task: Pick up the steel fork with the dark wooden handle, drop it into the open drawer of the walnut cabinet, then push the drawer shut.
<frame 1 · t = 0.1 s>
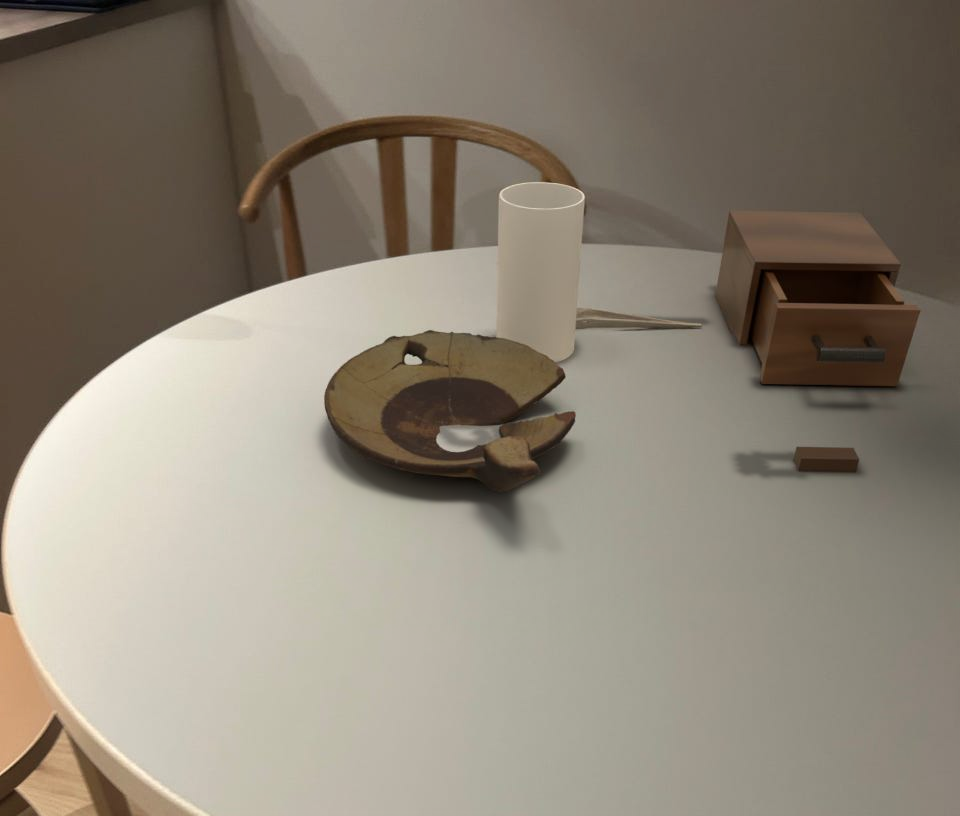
cup: (534, 355, 105), on the table
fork: (799, 472, 87), on the table
cabinet: (791, 322, 111), on the table
tweezers: (623, 329, 110), on the table
broken ceramic dish: (449, 455, 89), on the table
drawer: (826, 325, 99), point 5 cm above the table, slide at 8.0 cm
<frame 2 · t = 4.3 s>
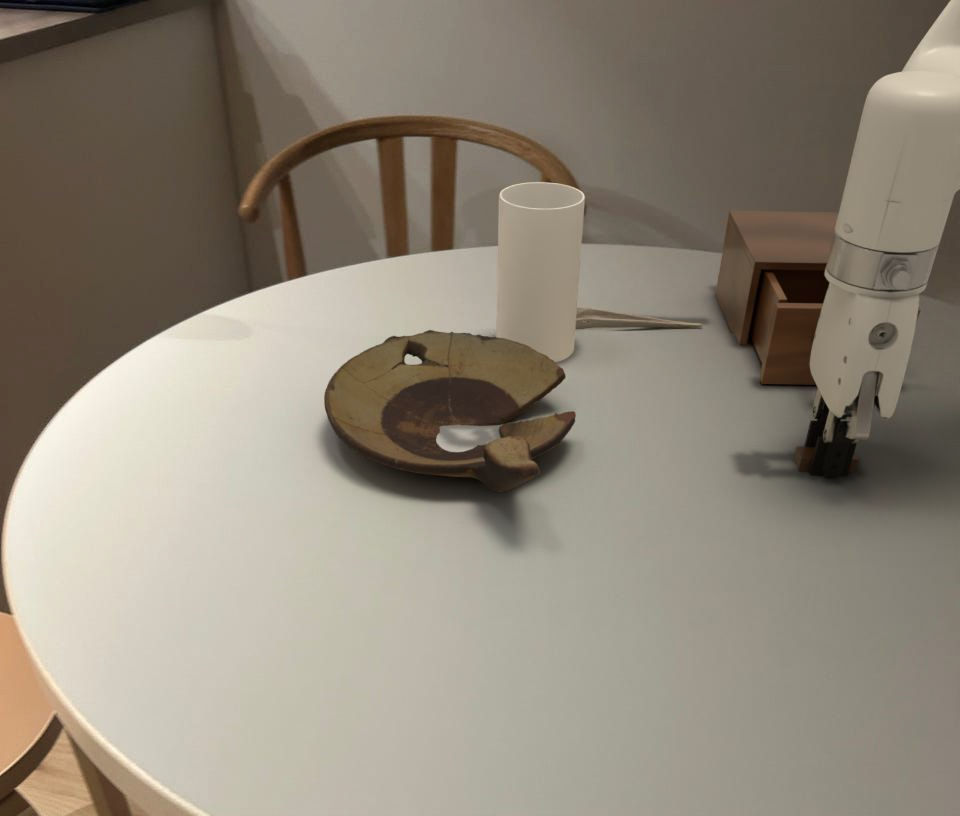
hand: (823, 469, 87), 0 cm above the table, tool pointing down, fingers closed on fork, 2 cm apart
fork: (799, 472, 87), on the table, touching gripper
everything else where it was.
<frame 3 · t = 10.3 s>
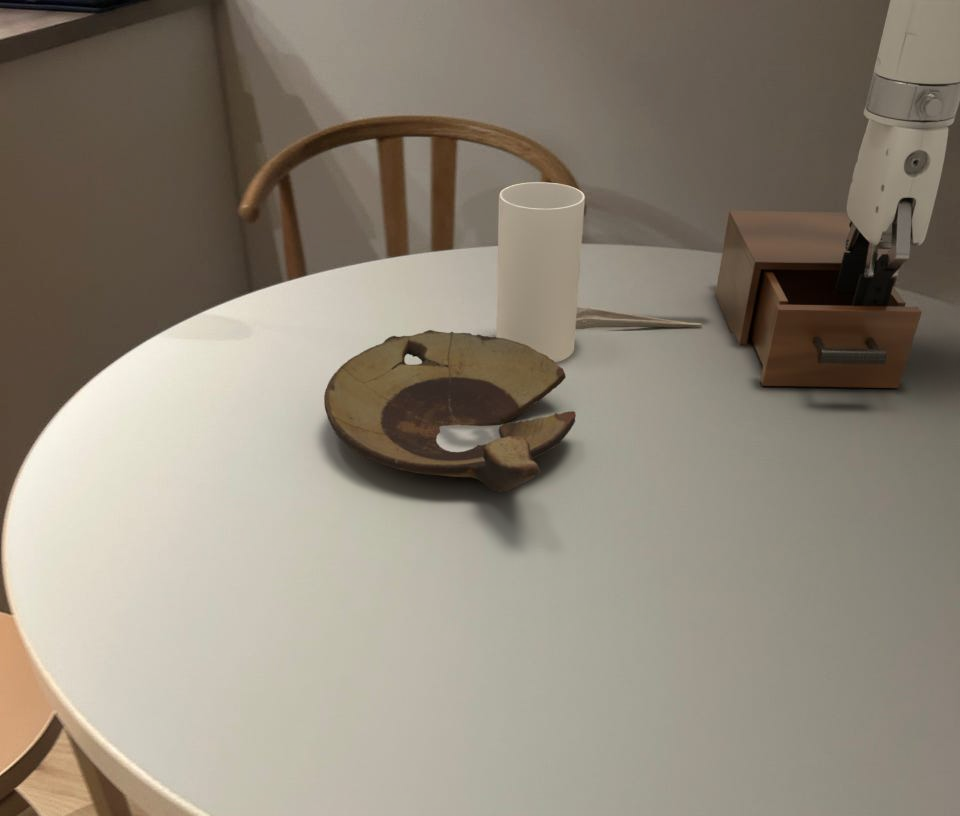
hand: (859, 302, 97), 7 cm above the table, tool pointing down, fingers open, 4 cm apart
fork: (826, 353, 101), point 2 cm above the table, touching drawer
drawer: (827, 327, 99), point 5 cm above the table, slide at 8.4 cm, touching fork, gripper
everything else where it was.
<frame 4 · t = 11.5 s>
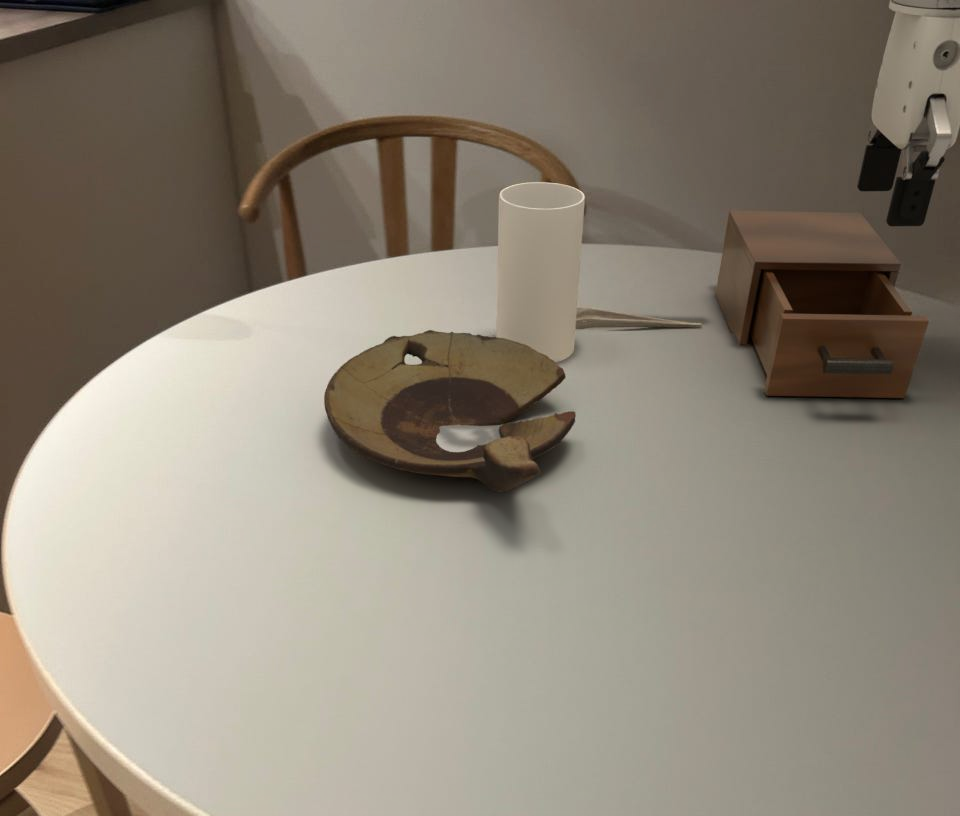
hand: (888, 207, 92), 16 cm above the table, tool pointing down, fingers open, 9 cm apart
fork: (831, 363, 99), point 2 cm above the table, touching drawer
drawer: (832, 336, 97), point 5 cm above the table, slide at 10.5 cm, touching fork
everything else where it was.
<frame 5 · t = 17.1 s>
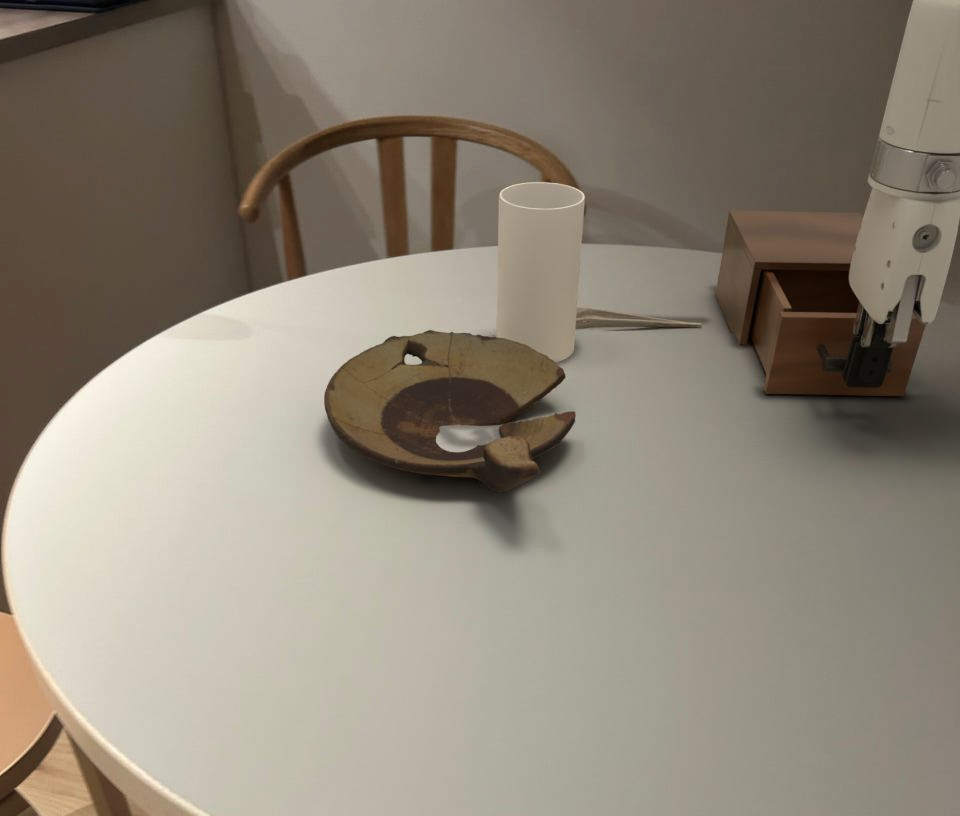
hand: (861, 382, 89), 5 cm above the table, tool pointing down, fingers closed
drawer: (831, 334, 98), point 5 cm above the table, slide at 10.1 cm, touching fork, gripper
everything else where it was.
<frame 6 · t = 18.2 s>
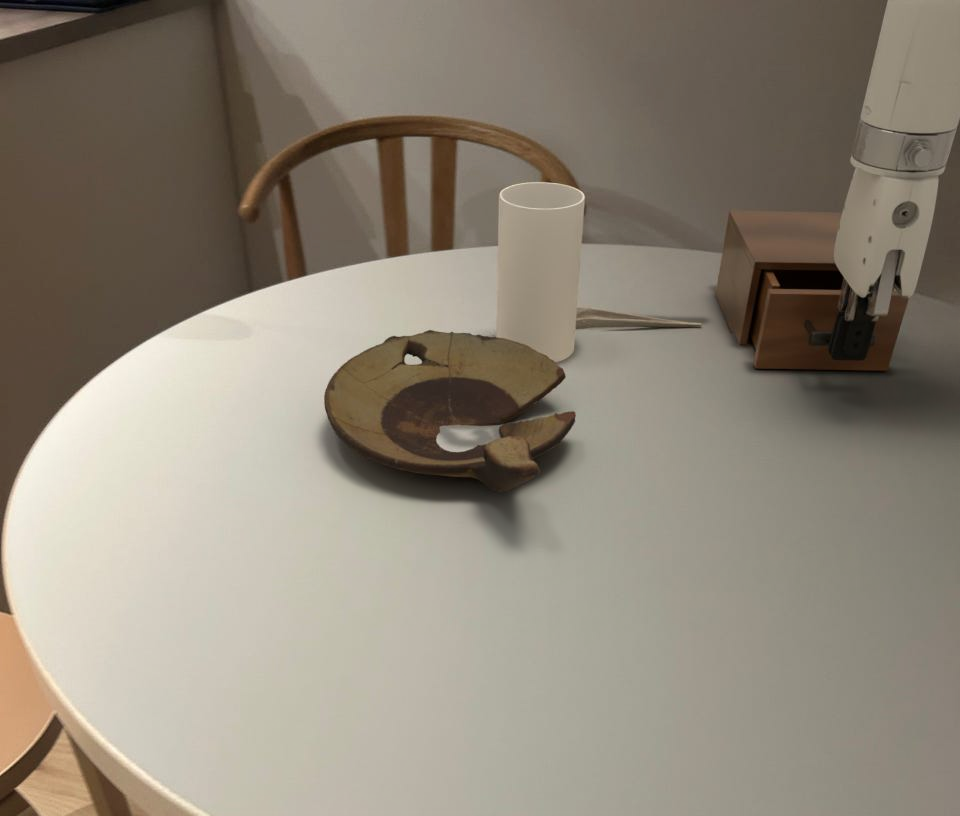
hand: (846, 356, 94), 5 cm above the table, tool pointing down, fingers closed
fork: (817, 338, 104), point 2 cm above the table, touching drawer
drawer: (818, 312, 102), point 5 cm above the table, slide at 4.6 cm, touching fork, gripper
everything else where it was.
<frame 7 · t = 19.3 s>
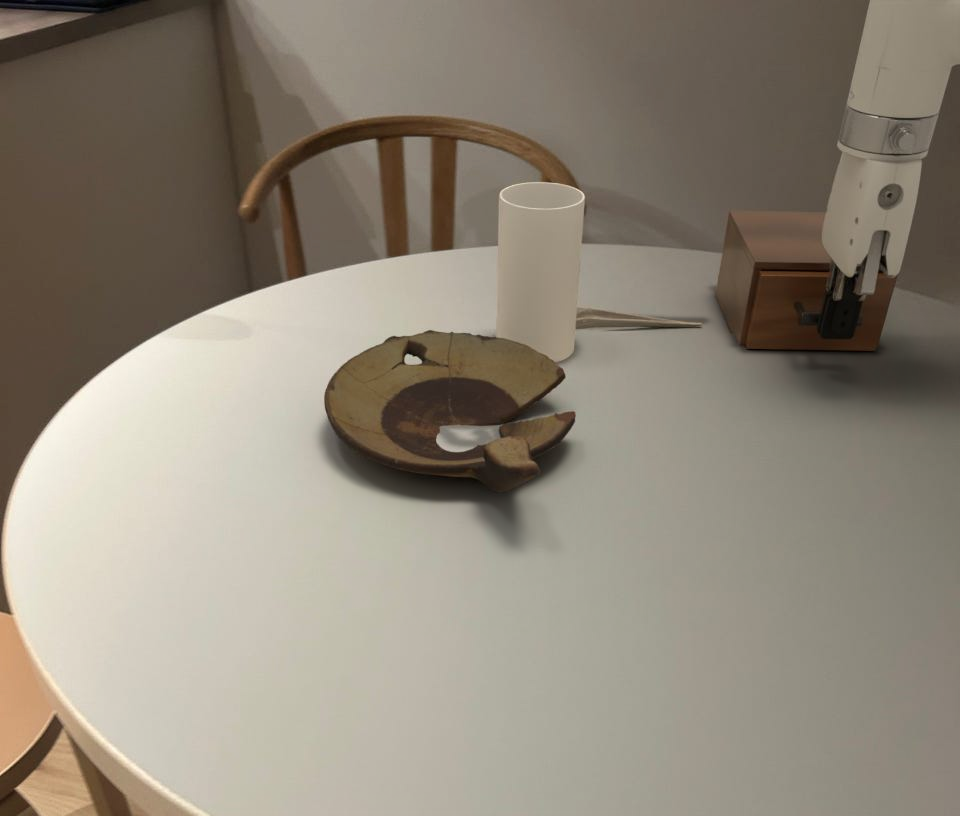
hand: (834, 335, 97), 5 cm above the table, tool pointing down, fingers closed
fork: (807, 319, 107), point 2 cm above the table, touching drawer
drawer: (808, 294, 105), point 5 cm above the table, slide at 0.0 cm, touching cabinet, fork, gripper
everything else where it was.
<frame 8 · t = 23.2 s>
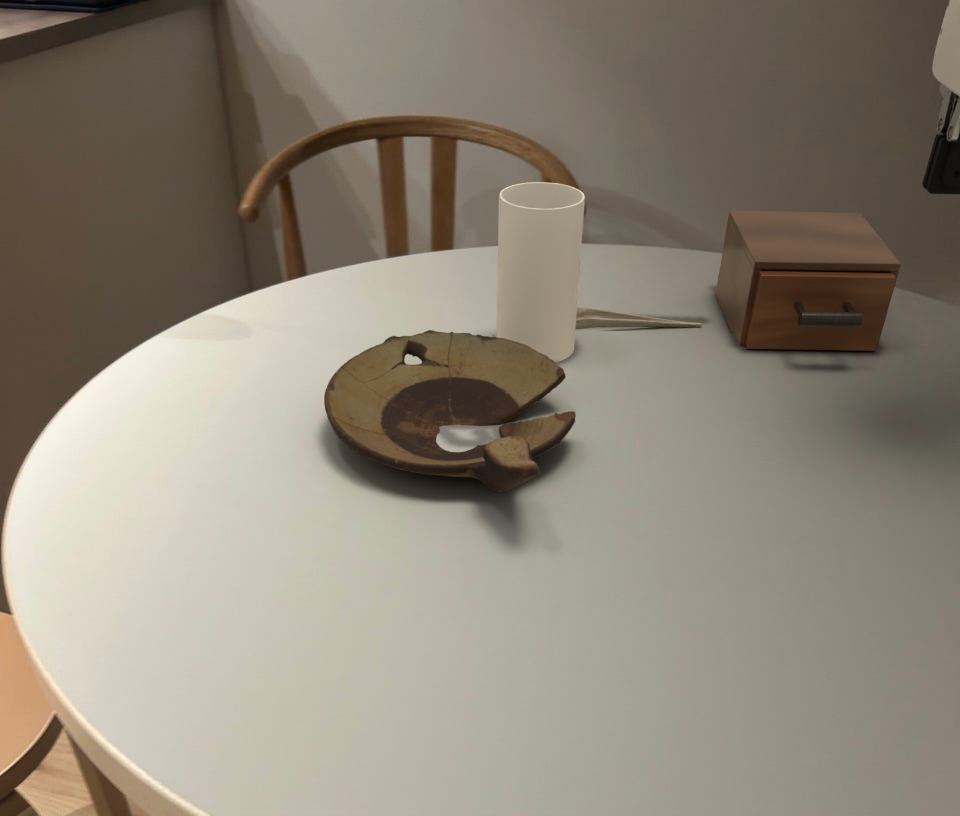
hand: (943, 190, 80), 21 cm above the table, tool pointing down, fingers closed
drawer: (808, 294, 105), point 5 cm above the table, slide at 0.0 cm, touching cabinet, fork
everything else where it was.
at the end: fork inside the target area in the cabinet (3.8 cm from its centre), point 2.0 cm above the cabinet's base; drawer slide at 0.0 cm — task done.
